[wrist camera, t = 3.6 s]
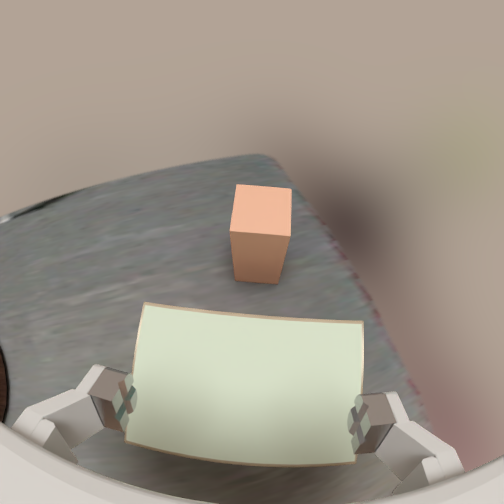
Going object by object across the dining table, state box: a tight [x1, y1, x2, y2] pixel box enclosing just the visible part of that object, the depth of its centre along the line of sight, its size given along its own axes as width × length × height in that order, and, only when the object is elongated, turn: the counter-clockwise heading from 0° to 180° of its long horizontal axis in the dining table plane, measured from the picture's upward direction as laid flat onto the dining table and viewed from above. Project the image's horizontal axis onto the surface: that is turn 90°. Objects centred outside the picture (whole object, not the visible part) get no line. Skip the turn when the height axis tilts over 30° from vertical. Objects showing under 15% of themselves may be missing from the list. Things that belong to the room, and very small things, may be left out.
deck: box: [124, 302, 364, 467], centre depth 21 cm, size 12×18×4 cm, turn 85°
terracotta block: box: [230, 184, 291, 284], centre depth 24 cm, size 4×4×9 cm
